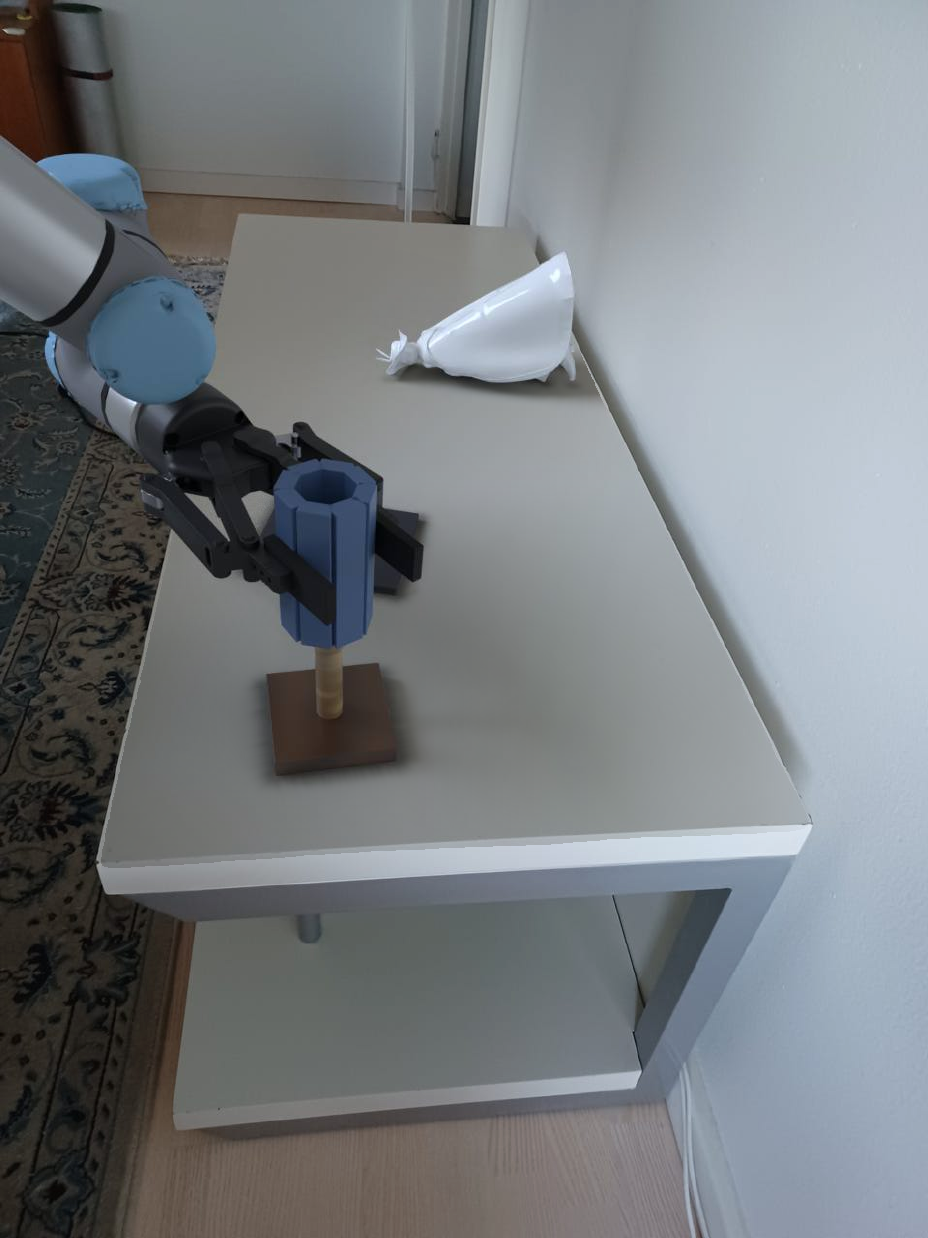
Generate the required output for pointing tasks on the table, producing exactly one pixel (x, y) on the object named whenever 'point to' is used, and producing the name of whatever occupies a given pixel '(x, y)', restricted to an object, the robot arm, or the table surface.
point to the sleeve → (329, 545)
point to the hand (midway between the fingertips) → (375, 584)
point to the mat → (383, 572)
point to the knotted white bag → (503, 331)
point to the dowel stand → (329, 716)
